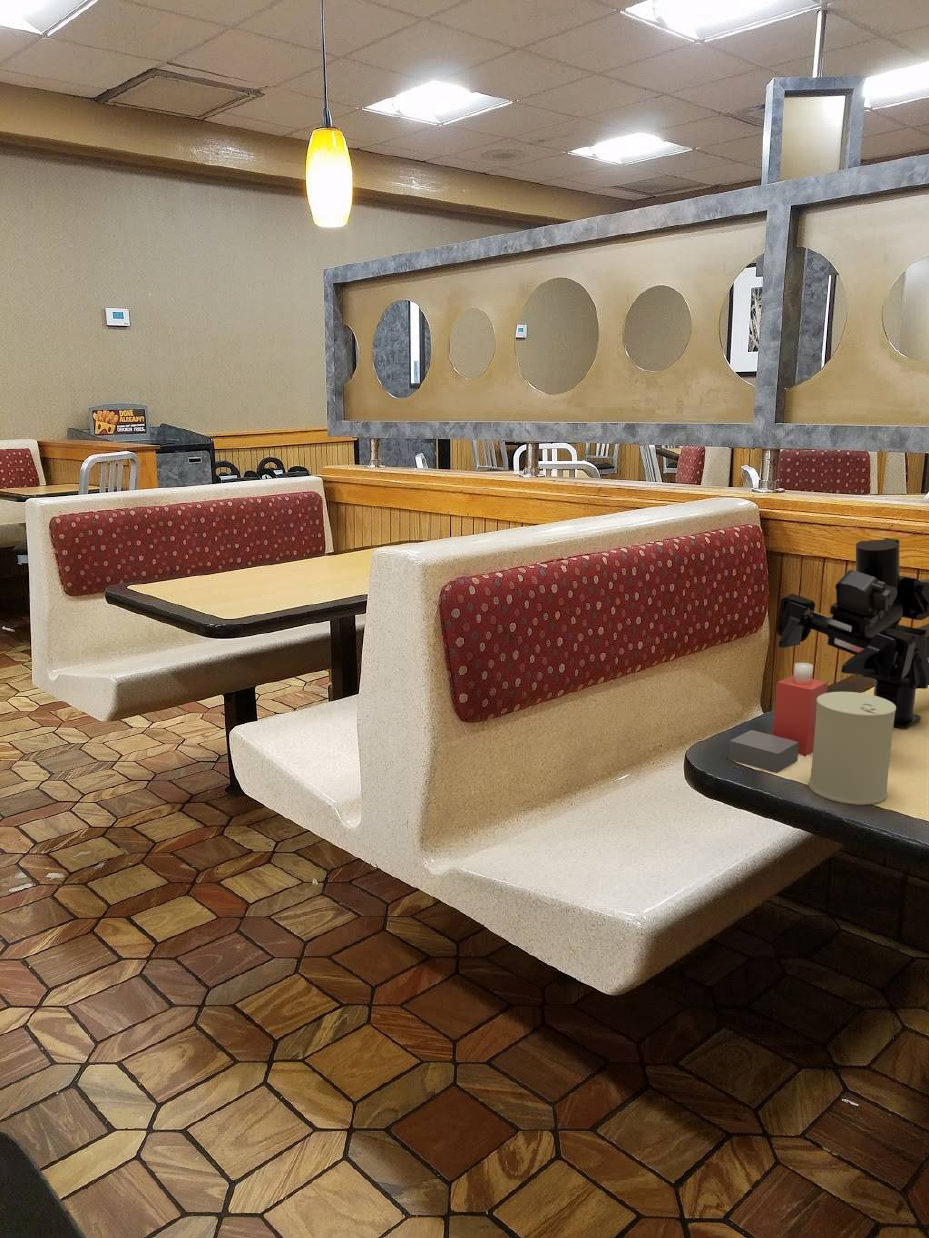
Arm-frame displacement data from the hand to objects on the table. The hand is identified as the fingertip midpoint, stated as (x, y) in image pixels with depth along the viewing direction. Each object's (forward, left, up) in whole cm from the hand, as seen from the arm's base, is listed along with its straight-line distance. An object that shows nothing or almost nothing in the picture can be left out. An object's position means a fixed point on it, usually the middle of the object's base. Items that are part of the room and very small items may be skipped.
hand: (810, 656), depth 129 cm
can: (+6, +9, -15) cm, 18 cm away
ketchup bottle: (-4, -3, -14) cm, 15 cm away
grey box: (+4, -4, -15) cm, 16 cm away
